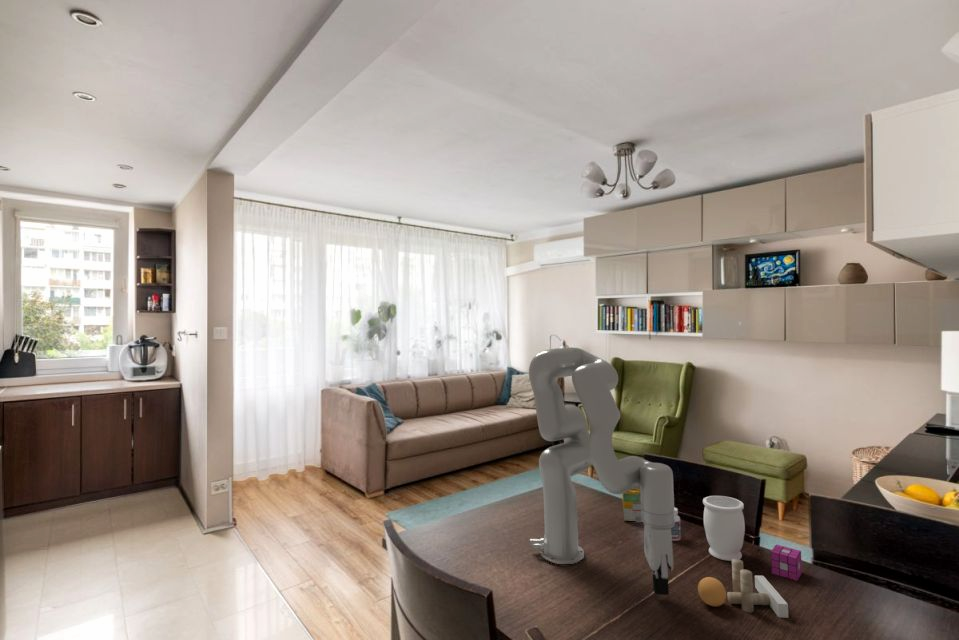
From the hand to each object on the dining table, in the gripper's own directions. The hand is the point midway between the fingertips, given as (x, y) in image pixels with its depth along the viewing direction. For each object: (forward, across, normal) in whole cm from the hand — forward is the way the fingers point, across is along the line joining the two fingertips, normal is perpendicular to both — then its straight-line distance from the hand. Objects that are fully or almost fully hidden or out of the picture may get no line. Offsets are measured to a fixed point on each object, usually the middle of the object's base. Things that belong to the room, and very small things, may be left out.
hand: (660, 592), depth 113 cm
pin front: (0, 0, +15) cm, 15 cm away
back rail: (+2, -1, +25) cm, 25 cm away
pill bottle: (+2, -34, +11) cm, 36 cm away
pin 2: (+2, +2, +18) cm, 19 cm away
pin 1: (+2, -2, +18) cm, 19 cm away
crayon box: (+2, -46, +2) cm, 46 cm away
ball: (-2, +1, +11) cm, 11 cm away
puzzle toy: (+2, -15, +35) cm, 38 cm away
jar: (+2, -24, +23) cm, 33 cm away
